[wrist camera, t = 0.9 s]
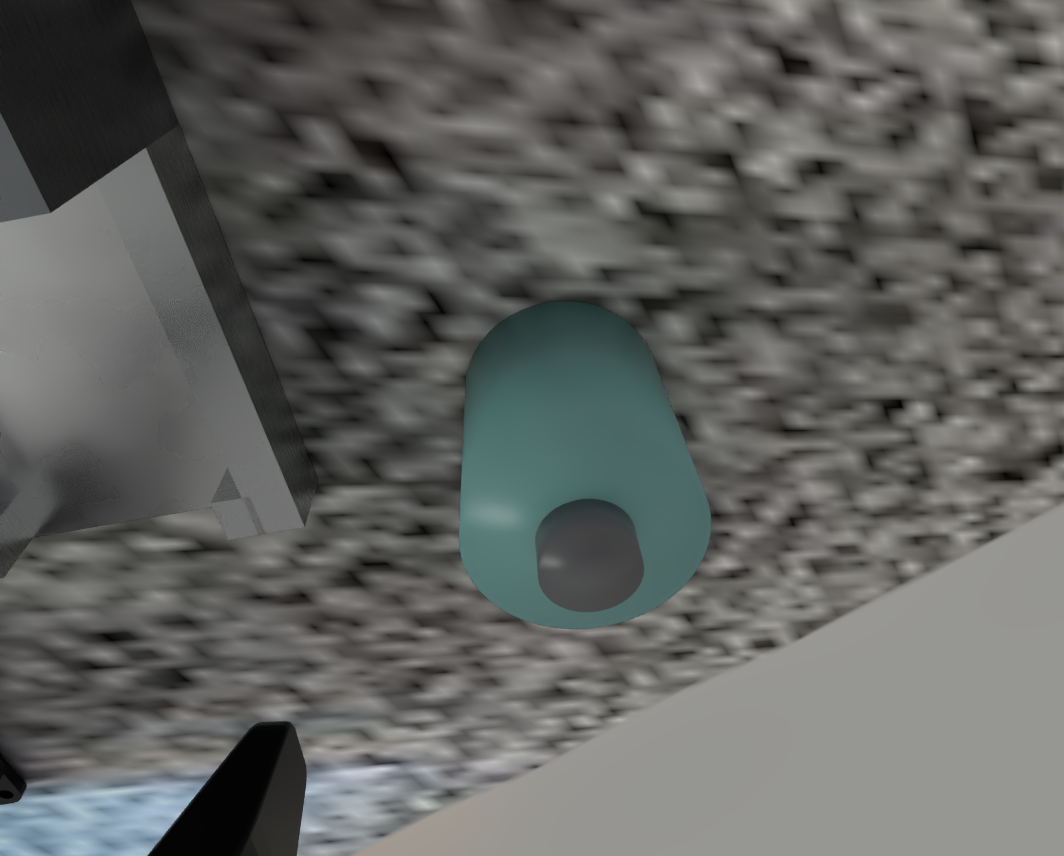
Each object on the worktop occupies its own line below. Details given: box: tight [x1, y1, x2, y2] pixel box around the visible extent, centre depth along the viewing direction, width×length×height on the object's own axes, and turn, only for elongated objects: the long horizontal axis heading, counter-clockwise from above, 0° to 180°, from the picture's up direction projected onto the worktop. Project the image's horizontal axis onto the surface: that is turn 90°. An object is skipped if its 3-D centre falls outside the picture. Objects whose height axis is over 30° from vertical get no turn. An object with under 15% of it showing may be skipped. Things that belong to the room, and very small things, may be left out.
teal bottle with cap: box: [459, 301, 711, 629], centre depth 18 cm, size 5×5×7 cm
